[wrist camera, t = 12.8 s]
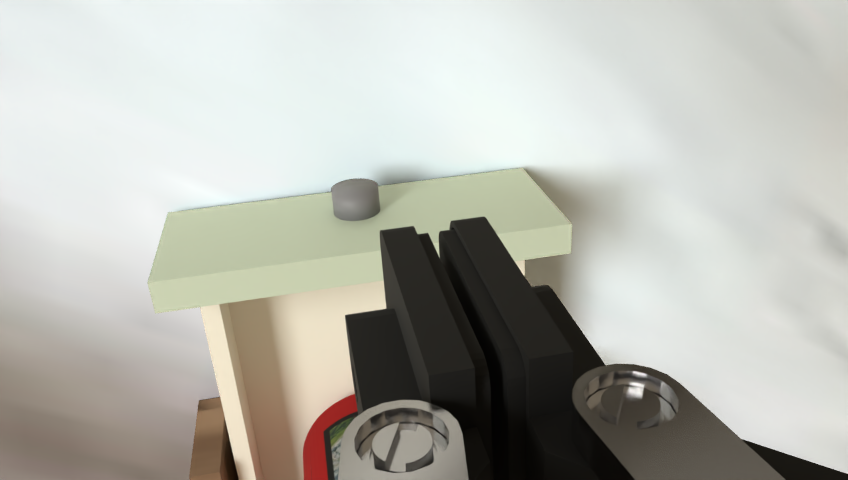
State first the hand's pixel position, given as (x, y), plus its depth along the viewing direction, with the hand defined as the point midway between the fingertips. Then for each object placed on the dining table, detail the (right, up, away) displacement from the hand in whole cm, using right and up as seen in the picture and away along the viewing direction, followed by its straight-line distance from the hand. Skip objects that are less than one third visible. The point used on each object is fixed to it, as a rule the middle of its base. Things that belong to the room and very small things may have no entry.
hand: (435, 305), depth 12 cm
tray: (-3, -4, +23) cm, 23 cm away
